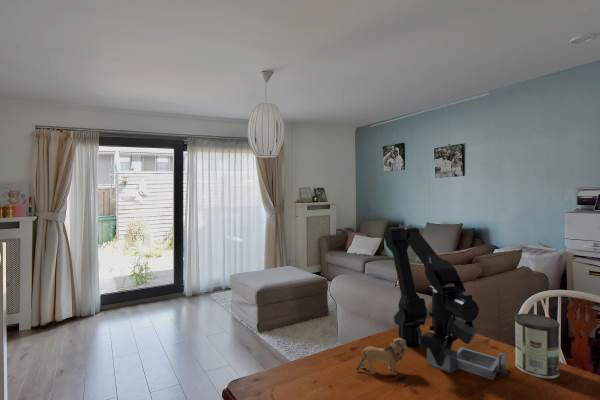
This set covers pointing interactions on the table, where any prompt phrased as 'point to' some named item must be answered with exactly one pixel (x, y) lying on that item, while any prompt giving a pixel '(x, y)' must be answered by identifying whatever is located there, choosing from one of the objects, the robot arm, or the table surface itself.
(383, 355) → the lion figurine
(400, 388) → the table surface
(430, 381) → the table surface
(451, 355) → the block
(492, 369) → the keeper cradle
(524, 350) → the coffee can
